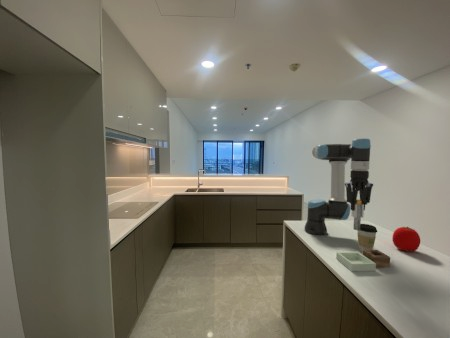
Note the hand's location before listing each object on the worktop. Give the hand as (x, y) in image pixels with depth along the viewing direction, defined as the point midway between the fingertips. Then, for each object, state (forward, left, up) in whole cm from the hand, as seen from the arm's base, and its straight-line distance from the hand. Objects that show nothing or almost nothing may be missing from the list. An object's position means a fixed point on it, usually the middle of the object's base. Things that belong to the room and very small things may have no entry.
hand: (357, 216), depth 100 cm
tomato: (-15, +42, -25) cm, 51 cm away
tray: (0, 0, -25) cm, 25 cm away
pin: (0, 0, -7) cm, 7 cm away
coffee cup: (-14, +17, -25) cm, 33 cm away
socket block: (-1, +12, -25) cm, 28 cm away
